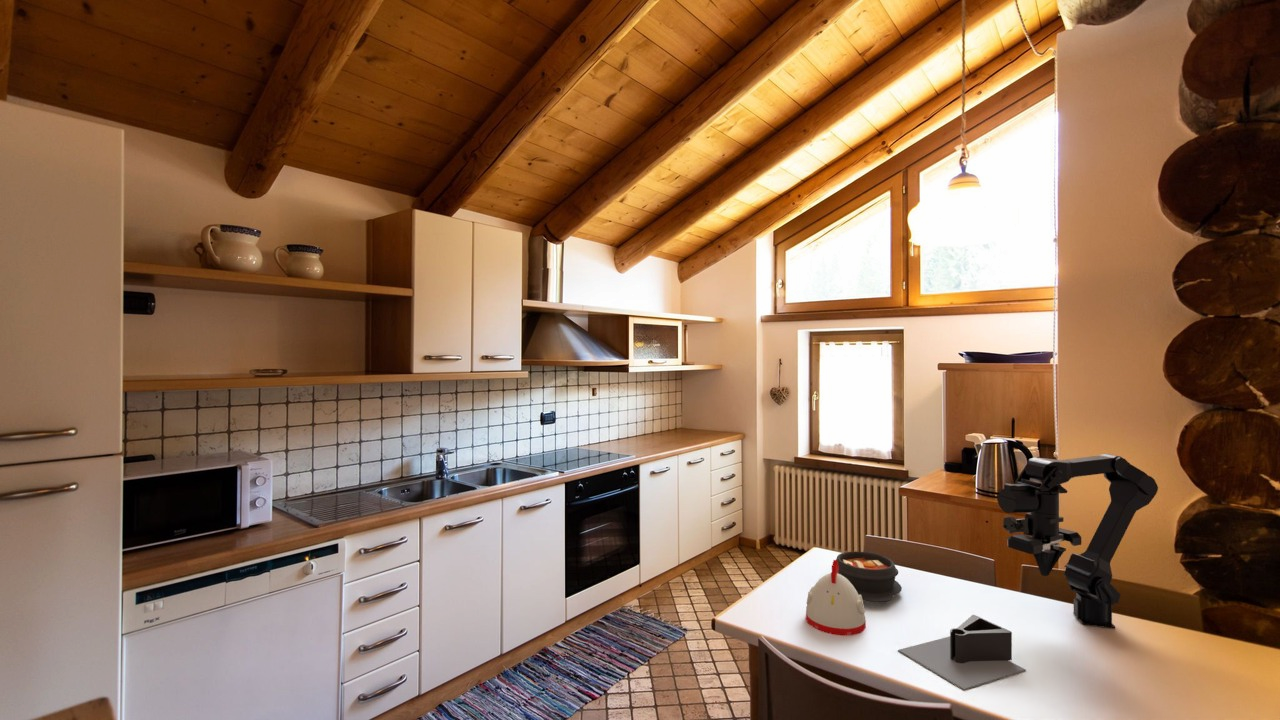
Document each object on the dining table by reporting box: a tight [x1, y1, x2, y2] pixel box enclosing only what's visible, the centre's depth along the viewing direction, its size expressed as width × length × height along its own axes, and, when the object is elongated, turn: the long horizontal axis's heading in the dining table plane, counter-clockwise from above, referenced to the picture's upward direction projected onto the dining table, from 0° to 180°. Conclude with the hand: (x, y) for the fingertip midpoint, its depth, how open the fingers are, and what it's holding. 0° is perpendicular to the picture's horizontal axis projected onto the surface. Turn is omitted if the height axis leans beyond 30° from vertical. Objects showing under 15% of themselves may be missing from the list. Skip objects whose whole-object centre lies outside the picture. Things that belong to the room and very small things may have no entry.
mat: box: [897, 635, 1027, 691], centre depth 121 cm, size 18×16×1 cm
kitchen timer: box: [805, 559, 867, 636], centre depth 139 cm, size 14×14×15 cm
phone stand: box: [949, 614, 1013, 663], centre depth 122 cm, size 9×6×12 cm
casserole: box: [835, 550, 902, 603], centre depth 158 cm, size 25×19×8 cm
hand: (1044, 575), depth 137 cm, fingers closed
